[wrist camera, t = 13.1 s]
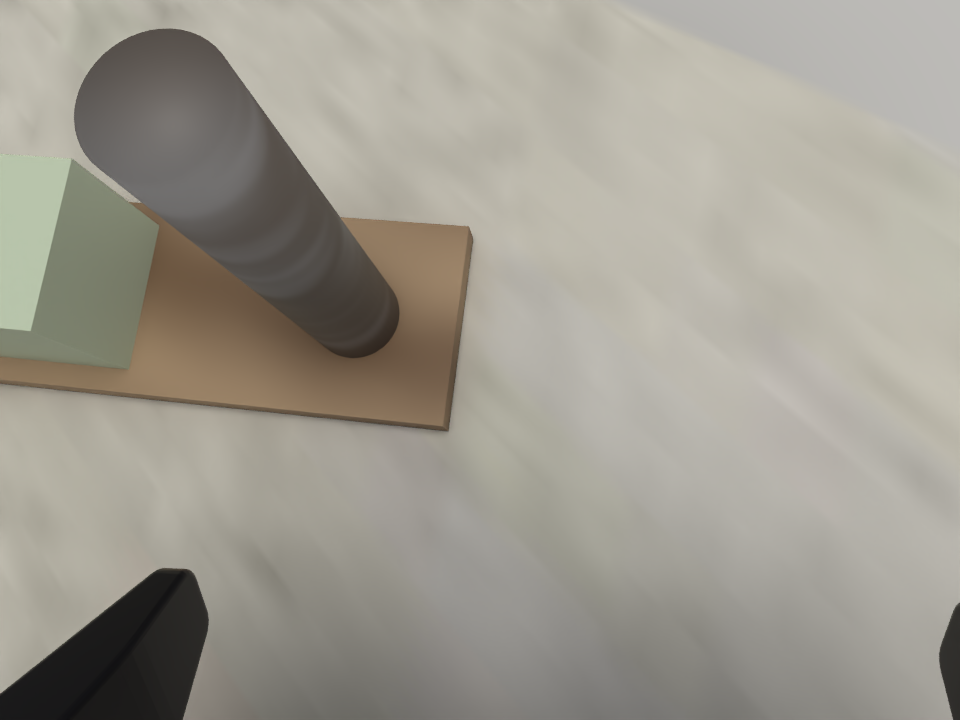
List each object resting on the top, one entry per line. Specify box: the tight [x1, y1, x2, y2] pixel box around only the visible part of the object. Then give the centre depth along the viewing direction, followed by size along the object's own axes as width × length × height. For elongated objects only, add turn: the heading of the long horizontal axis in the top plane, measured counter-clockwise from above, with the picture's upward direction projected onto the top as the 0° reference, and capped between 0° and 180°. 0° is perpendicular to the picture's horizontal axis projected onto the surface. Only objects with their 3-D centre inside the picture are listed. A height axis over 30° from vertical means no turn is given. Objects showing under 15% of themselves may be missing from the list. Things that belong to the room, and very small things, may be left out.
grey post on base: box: [0, 29, 473, 431], centre depth 20 cm, size 6×16×13 cm, turn 83°
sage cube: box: [0, 154, 159, 370], centre depth 23 cm, size 5×5×5 cm
